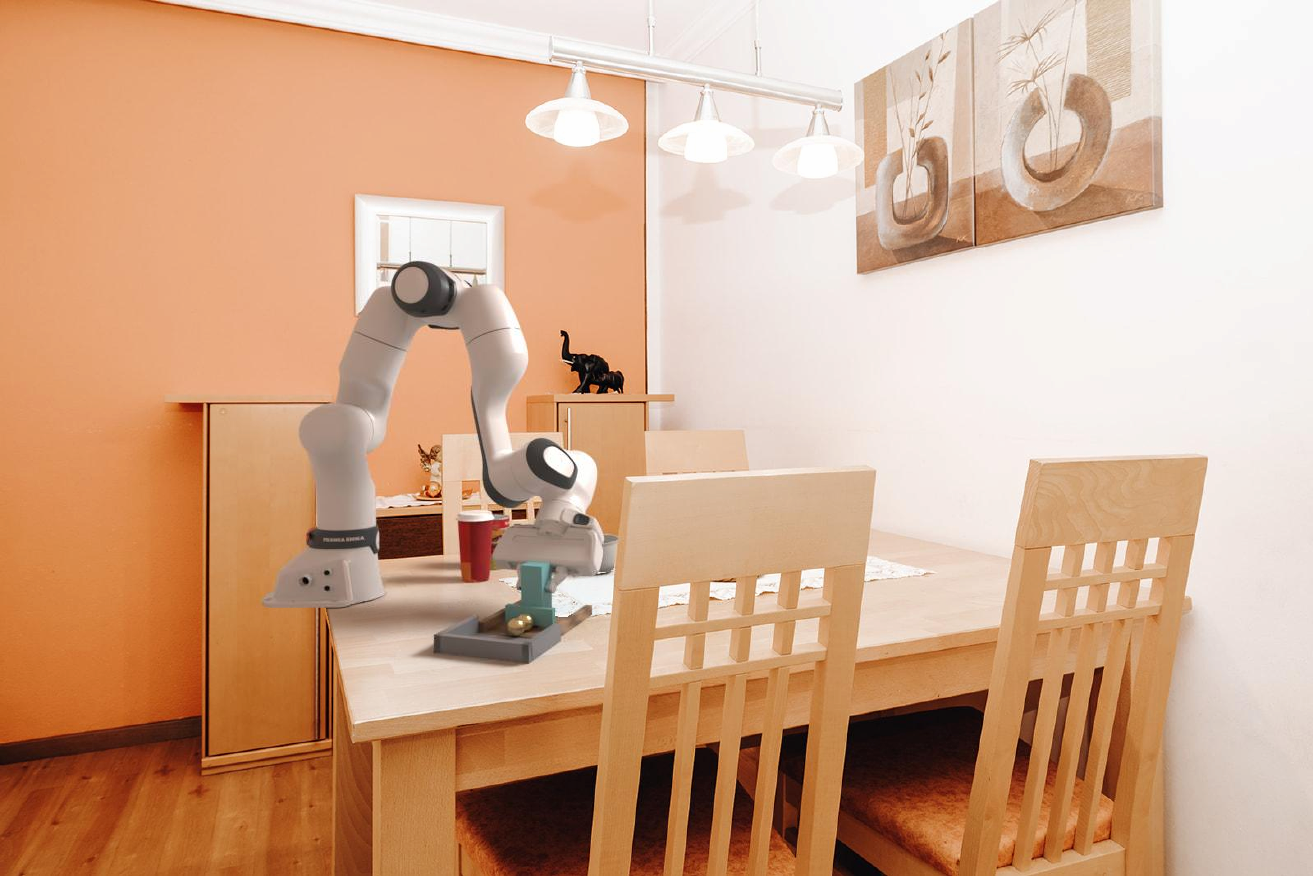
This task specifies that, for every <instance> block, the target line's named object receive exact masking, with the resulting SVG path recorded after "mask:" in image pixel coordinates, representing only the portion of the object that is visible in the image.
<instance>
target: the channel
mask: <svg viewBox="0 0 1313 876" xmlns="http://www.w3.org/2000/svg"><path fill="white" fill-rule="evenodd" d="M512 604H519V605H521V599H519V600H517V601H515V602H513V603H512ZM572 613H573V614H571V615H569V616H568V617H558V616H555V623H556V624H561V637H563V636H564V635H566V634H567V633H569V632H570V631H572V630H573V629H574V628H577V626H578V625H580V624H582V623H583V622H585V621H586V620H587V619H588V618H590V617H592V616H593V605H592V604H585V605H584V606H582V607H580V608H579V609H576V610H575V611H574V612H572ZM591 615H592V616H591ZM507 625H508V623H507V622H505V607H503V608H502V609H500V610H498V611H497V612H495V613H492V614H491V615H488V616H486V617H485V618H482V619H481V620H479V633H484V634H486V633H487V635H490V634H492V635H493V634H494V635H496V634H499V635H503V636H505V635H506V636H507V635H509V636H510V637H514V636H511V635H510V634H509V633H508V631H507ZM546 628H548V626H538V625H533V626H532V628H531V629H530V630H528V631H525V632H523V634H522V635H520V636H518V637H520V638H521V637H524V638H526V637H527V639H528V638H529V639H530V638H532V637H534V636H535V635H537V634H538V633H540V632H542V631H543V630H545V629H546ZM499 635H498V636H499ZM518 637H517V638H518Z"/></svg>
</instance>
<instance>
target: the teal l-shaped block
mask: <svg viewBox="0 0 1313 876" xmlns="http://www.w3.org/2000/svg"><path fill="white" fill-rule="evenodd" d="M552 578H553V573H552V565H551V562H540V561H529V562H527V563H524V564H522V565H521V591H520V597H521V598H520V600H521V605H519V604H513V603H507V604H505V605H504V608H505V622H507V623H509V621H510V620H512V619H514V618H517V617H518V616H519V615H521V614H529V615H530V616H531V617H532V618H533V625H538V626H548V627H549V626H551V625H552V624H554V623H555V612H556V607H553V593H546V591H545V590H544V586H545V585H546V580H551V579H552ZM555 624H556V623H555Z"/></svg>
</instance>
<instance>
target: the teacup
mask: <svg viewBox="0 0 1313 876" xmlns="http://www.w3.org/2000/svg"><path fill="white" fill-rule="evenodd" d="M603 535H604V542H603V544H602V548H603V557H602V562H601V566H600V570H599V572H608V573H611V572H612V571H613V570H614V569H615V568H614V562H615V554H616V545H617V542H618V537H619V535H616V534H610V533H603ZM611 570H612V571H611ZM610 571H611V572H610Z"/></svg>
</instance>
